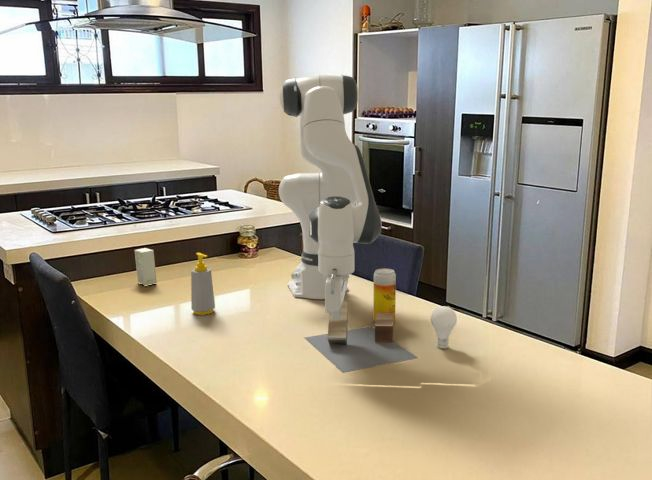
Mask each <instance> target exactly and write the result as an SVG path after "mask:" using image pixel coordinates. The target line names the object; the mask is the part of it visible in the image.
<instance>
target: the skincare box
mask: <svg viewBox="0 0 652 480" xmlns="http://www.w3.org/2000/svg"><path fill="white" fill-rule="evenodd" d="M154 252H155V251H154V249H150V248H147V247H144V248H143V247H142V248H138V249H134V256H135V257H134V258H135V266H136V267H135V269H136V278H137V283H138V282H140V283H142V284H144V285H148V284H153V283H157V271H156V263H155V261H156V260H155V253H154ZM157 284H158V283H157Z"/></svg>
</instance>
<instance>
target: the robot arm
mask: <svg viewBox="0 0 652 480" xmlns="http://www.w3.org/2000/svg"><path fill="white" fill-rule="evenodd" d="M281 85H282V86H281V88H280V91H279V103H280V106H281V108H282V109H283V112H284V113H285V114H286V115H287V116H290V117H295V118H298V117H299V119H300V120H299V135H300V136H299V137H300V154H301V156H302V158H303V160H304V161H306V162H307V163H309V164H311V165H313V166H315V167H317V168H318V169H319V170H320V172H298V173H293V174H288V175H285V176H284V177H283V178H282V179H281V180H280V183H279V186H278V196H279V199H280V200H281V202H282V203H283V204H284V206H286V207H287V208H289V210H291V211H292V212H293V213H294V215H295V216H296V217H297V219H298V220H299V223H300V226H301V230H302V241H303V250H301V251H302V252H301V257H300V258H301V259H300V261H301V262H300V263H299V264H298V265H297V266H296V267H295V268H294V270H293V271H294V272H291V274H290V275H291V276H290V277H291V280H290V281H288V282H287V286H289V287H288V288H290V289H289V290H290V292H291V294H292V295H293V297H295V298H305V299H310V300H311V299H313V300H324V309H325V312H326V313H328V314H329V313H333V320H339V319H340V316H341V307H342V303H343V301H345V300H344V299H345V296H346V295H345V294H346V292H347V291H349V287H348V283H349V278H350V275H351V274H354V272H355V248H354V244H355V243H356V244H363V245H364V244H365V245H370V244H372V243H373V242H374V241H375V240H377V239H378V238H379V236H380V235H381V234H382V229H383V228H382V227H383V225H382V223H383V222H382V218H381V215H380V212H379V208H378V206H377V204H376V203H377V202H376V201H375V197H374V193H373V190H372V186H371V182H370V179H369V175H368V170H367V168H366V164H365V161H364V157H363V154H362V152H361V149H360V148H359V146H358V145H356V144H354V143H353V142H352V140H351V139H350V137H349V136H348V134H347V132H346V124H345V115H347V114H350V113H352V112H354V111H355V110H356V109H357V105H358V103H359V100H360V89H359V86H358V84H357V81H356V79H354V77H353V76H350V75H343V74H342V75H340V76H338V75H327V74H324V75H322V74H321V75H320V74H319V75H317V76H316V75H315V76H313V75H312V76H305V77H298V78H297V77H292V78H289V79H286V80H284V81H283V82H282V84H281Z"/></svg>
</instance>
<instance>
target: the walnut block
mask: <svg viewBox="0 0 652 480" xmlns="http://www.w3.org/2000/svg"><path fill="white" fill-rule="evenodd" d="M374 328H375V342H377V343H393V341H394V340H393V339H394V336H393V335H394V334H393V333H394V322H393V313H376V321H374Z"/></svg>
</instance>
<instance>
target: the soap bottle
mask: <svg viewBox="0 0 652 480" xmlns="http://www.w3.org/2000/svg"><path fill="white" fill-rule="evenodd" d="M195 255H196V256H197V260H198V262H196V265H195V267H194V268H193V269H191V271H190V272H191V273H190V276H191V277H190V279H191V281H190V286H191V288H190V289H191V290H190V291H191V294H190V295H191V300H190V301H191V310H192V311H193V313H195V314H194V315H196V314H199V315H198V316H205V315H204V314H208V315H210V313H211V314H213V312H214V309H215V308H216V305H215V296H214V294H215V293H214V286H213V285H214V284H213V276H212V269H211V268H208V266H207V265H206V264H205V261H203V260H204V258H208V255H207V254H205V253H201V252H196V254H195Z"/></svg>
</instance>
